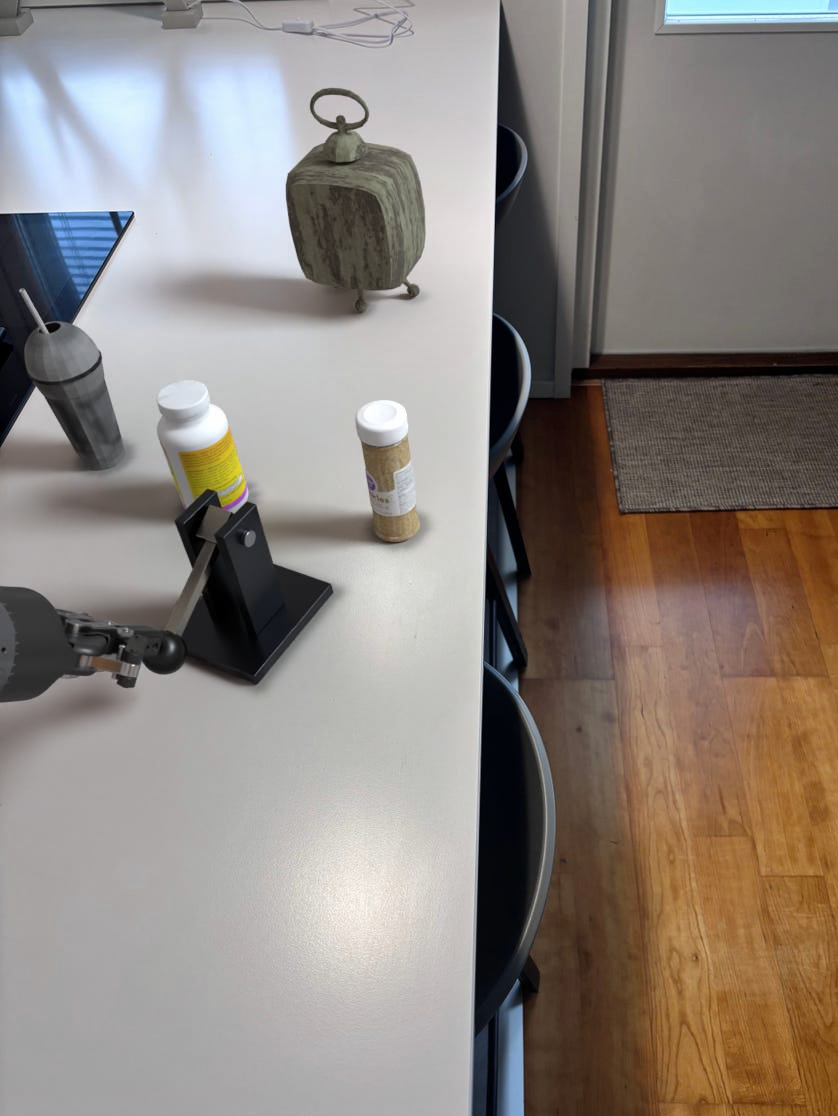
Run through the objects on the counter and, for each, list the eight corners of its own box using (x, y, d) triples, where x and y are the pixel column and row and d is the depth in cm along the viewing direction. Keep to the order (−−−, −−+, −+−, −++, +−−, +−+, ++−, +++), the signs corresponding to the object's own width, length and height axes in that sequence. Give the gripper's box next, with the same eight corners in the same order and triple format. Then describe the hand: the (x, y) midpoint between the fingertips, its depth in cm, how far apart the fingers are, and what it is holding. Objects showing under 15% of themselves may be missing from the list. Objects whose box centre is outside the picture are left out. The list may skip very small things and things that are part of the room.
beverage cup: (152, 444, 107) (87, 271, 92) (109, 485, 102) (33, 309, 87) (99, 430, 109) (27, 258, 94) (55, 469, 105) (-28, 296, 90)
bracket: (257, 685, 83) (219, 578, 74) (165, 648, 87) (117, 541, 77) (333, 592, 90) (308, 483, 81) (245, 561, 94) (211, 453, 84)
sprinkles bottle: (364, 531, 96) (343, 416, 86) (397, 506, 98) (380, 391, 88) (398, 551, 93) (380, 435, 83) (431, 525, 96) (417, 410, 86)
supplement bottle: (263, 494, 100) (233, 386, 91) (217, 532, 97) (181, 424, 87) (216, 473, 103) (182, 366, 93) (170, 509, 99) (130, 401, 90)
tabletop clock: (432, 291, 125) (412, 77, 106) (408, 329, 120) (381, 110, 101) (329, 279, 129) (291, 70, 110) (300, 315, 123) (255, 101, 104)
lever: (184, 685, 80) (159, 675, 76) (150, 670, 81) (123, 660, 77) (256, 527, 82) (234, 511, 78) (221, 515, 83) (198, 499, 79)
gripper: (58, 619, 58) (233, 621, 74) (-96, 556, 63) (100, 570, 79) (29, 738, 59) (208, 714, 75) (-121, 668, 63) (78, 659, 80)
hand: (152, 641), depth 77 cm, fingers closed
